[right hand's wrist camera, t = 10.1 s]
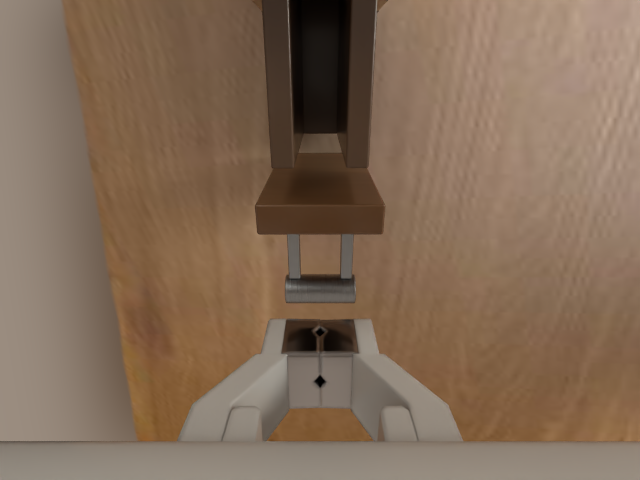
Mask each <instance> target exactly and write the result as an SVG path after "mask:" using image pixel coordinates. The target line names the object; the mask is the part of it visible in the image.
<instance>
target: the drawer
mask: <svg viewBox="0 0 640 480" xmlns="http://www.w3.org/2000/svg"><path fill="white" fill-rule="evenodd" d="M377 5H378V0H262V15H263V32H264V49H265V66H266V82H267V99H268V116H269V133H270V150H271V166H272V168H274V169H273V171H272V173H271V175H270V177H269V179H268V181H267V183H266V185H265V187H264V189H263V191H262V193H261V195H260V197H259V199H258V201H257V203H256V205H255V212H256V224H257V233H258V234H287V242H288V264H289V274H287V275H286V279H285V300H286V303H355V300H356V280H355V275H354V274H352V261H353V236H354V234H382V233H383V228H384V216H385V204H384V202H383V200H382V198H381V196H380V194H379V192H378V190H377V188H376V186H375V184H374V182H373V180H372V178H371V175H370V173H369V171H368V169H367V168H368V166H369V150H370V131H371V113H372V95H373V77H374V59H375V41H376V23H377ZM319 133H337V135H338V139H339V143H340V146H341V150H342V153H298V152H299V148H300V145H301V141H302V138H303V134H319ZM300 234H341V252H340V274H301V259H300Z"/></svg>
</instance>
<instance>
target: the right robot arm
mask: <svg viewBox="0 0 640 480" xmlns="http://www.w3.org/2000/svg"><path fill="white" fill-rule="evenodd" d="M292 408H348V409H351V411H352V412H353V414H354V415H355V416H356V418H357V419H358V420H359V422H360V423H361V424H362V426H363V427H364V428H365V430H366V431H367V432H368V434H369V435H370V436H371V438H372V439H373V440H374V441H267V439H268V438H269V437H270V435H271V434H272V433H273V431H274V430H275V429H276V427H277V426H278V425H279V423H280V422H281V421H282V419H283V418H284V417H285V415H286V414H287V413H288V411H289V409H292ZM0 480H640V441H463V440H462V437H461V435H460V432H459V430H458V428H457V425H456V423H455V420H454V418H453V415H452V413H451V411H450V408H449V406H448V404H446V403H445V402H444V401H443V400H441V399H440V398H439V397H438V396H436V395H435V394H434V393H433V392H431V391H430V390H429V389H428V388H426V387H425V386H424V385H423V384H421V383H420V382H419V381H418V380H416V379H415V378H414V377H413V376H411V375H410V374H409V373H408V372H406V371H405V370H404V369H403V368H401V367H400V366H399V365H398V364H396V363H395V362H394V361H393V360H391V359H390V358H389V357H387V356H386V355H385V354H379V350H378V346H377V342H376V338H375V333H374V329H373V325H372V321H371V319H370V318H369V319H345V320H320V319H270V320H269V321H268V324H267V329H266V333H265V337H264V342H263V346H262V350H261V354H255V355H254V356H253V357H251V358H250V359H249V360H247V361H246V362H245V363H244V364H242V365H241V366H240V367H239V368H237V369H236V370H235V371H234V372H232V373H231V374H230V375H229V376H227V377H226V378H225V379H224V380H222V381H221V382H220V383H219V384H217V385H216V386H215V387H213V388H212V389H211V390H210V391H208V392H207V393H206V394H205V395H203V396H202V397H201V398H200V399H198V400H197V401H196V402H195V403H193V404H192V406H191V409H190V411H189V413H188V416H187V418H186V421H185V423H184V425H183V428H182V430H181V432H180V435H179V437H178V440H177V441H0Z"/></svg>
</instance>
